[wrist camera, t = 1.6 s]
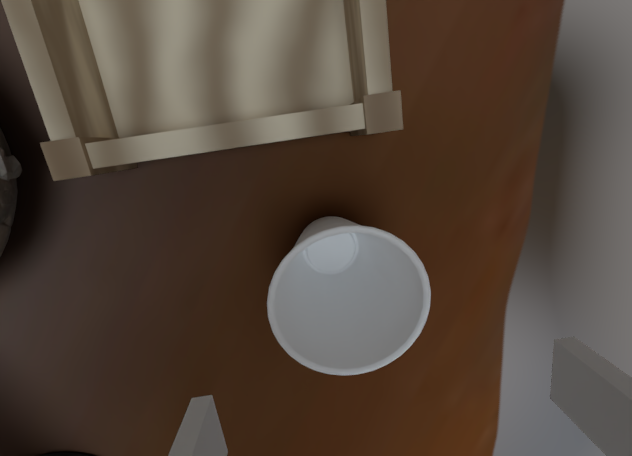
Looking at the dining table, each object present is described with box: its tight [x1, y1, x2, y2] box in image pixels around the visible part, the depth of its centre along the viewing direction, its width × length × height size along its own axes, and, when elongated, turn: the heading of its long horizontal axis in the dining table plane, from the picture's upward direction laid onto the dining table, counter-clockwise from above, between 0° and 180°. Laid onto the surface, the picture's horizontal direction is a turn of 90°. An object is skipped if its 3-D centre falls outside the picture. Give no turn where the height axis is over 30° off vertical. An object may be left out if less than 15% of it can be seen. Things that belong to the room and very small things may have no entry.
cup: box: [267, 216, 431, 376], centre depth 25 cm, size 10×10×11 cm
